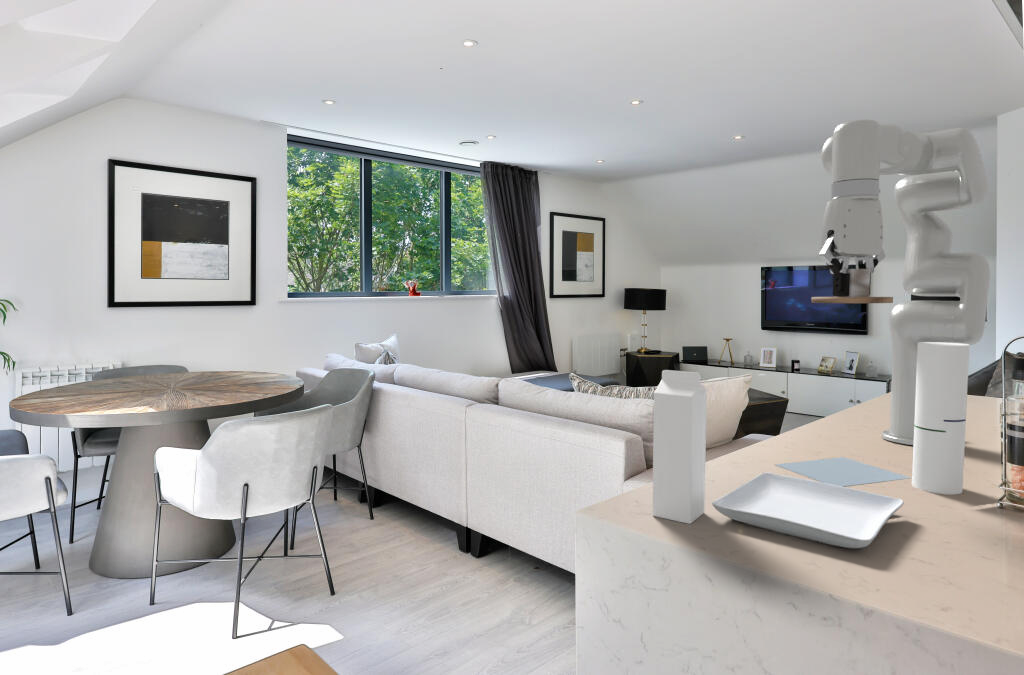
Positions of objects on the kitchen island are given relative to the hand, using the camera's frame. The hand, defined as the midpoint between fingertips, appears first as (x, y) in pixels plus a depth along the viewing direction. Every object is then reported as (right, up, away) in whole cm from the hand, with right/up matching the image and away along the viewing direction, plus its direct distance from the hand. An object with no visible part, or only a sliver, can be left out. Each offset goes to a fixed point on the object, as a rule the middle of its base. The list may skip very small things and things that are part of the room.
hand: (851, 294), depth 114 cm
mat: (0, -33, +3) cm, 33 cm away
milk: (-36, -35, -18) cm, 53 cm away
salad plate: (-17, -35, -20) cm, 44 cm away
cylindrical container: (+11, -34, -7) cm, 36 cm away
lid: (0, -1, 0) cm, 1 cm away
